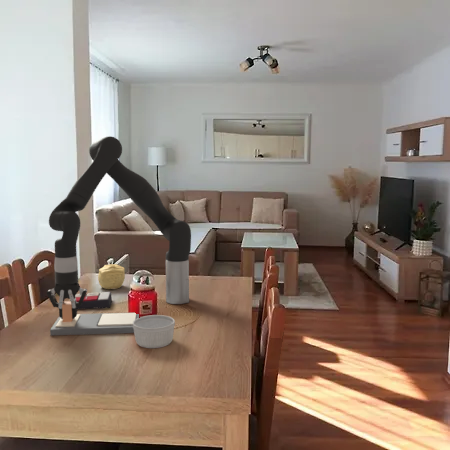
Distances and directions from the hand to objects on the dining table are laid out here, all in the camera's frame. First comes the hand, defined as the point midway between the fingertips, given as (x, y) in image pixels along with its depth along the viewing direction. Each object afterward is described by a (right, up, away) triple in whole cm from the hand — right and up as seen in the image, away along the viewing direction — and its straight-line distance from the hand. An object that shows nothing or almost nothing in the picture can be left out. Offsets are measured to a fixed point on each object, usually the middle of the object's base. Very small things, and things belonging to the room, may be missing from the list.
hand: (68, 318), depth 175 cm
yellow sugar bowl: (+3, +4, +53) cm, 53 cm away
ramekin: (+31, -6, -13) cm, 34 cm away
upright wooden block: (0, -1, 0) cm, 1 cm away
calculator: (+1, 0, +27) cm, 27 cm away
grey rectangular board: (+10, -3, +1) cm, 10 cm away
